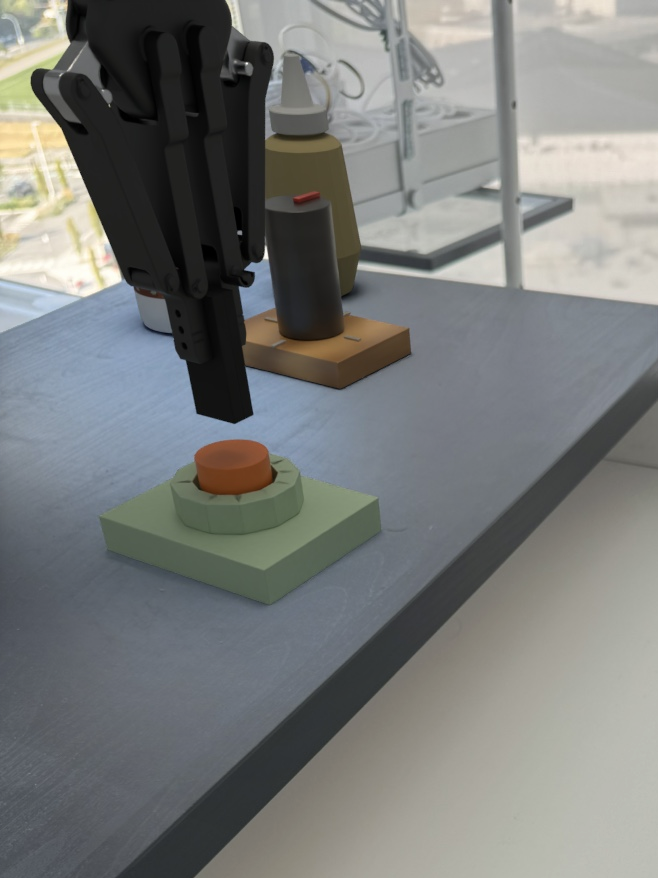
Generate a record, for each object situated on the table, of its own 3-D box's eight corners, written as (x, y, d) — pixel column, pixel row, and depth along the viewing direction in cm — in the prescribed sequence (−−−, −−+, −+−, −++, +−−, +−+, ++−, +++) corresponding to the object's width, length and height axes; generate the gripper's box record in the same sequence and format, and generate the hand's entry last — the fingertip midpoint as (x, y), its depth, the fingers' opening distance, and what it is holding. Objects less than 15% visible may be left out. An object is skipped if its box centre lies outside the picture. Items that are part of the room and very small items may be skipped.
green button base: (107, 550, 67) (89, 485, 64) (227, 485, 74) (216, 424, 71) (270, 606, 62) (258, 538, 60) (382, 531, 69) (375, 467, 67)
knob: (316, 344, 88) (299, 210, 82) (265, 332, 89) (244, 200, 83) (357, 326, 91) (344, 196, 85) (307, 314, 93) (290, 186, 87)
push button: (184, 488, 65) (178, 458, 64) (233, 462, 68) (228, 433, 67) (239, 505, 64) (234, 475, 62) (287, 478, 66) (283, 448, 65)
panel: (216, 359, 90) (211, 330, 89) (293, 325, 97) (289, 298, 95) (339, 390, 86) (336, 360, 85) (412, 353, 92) (410, 325, 91)
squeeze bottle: (256, 299, 102) (219, 59, 90) (300, 273, 108) (271, 45, 96) (340, 310, 100) (313, 66, 89) (380, 283, 106) (360, 51, 95)
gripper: (62, -138, 42) (191, 473, 57) (296, -141, 51) (355, 389, 66) (-76, -144, 45) (81, 441, 60) (169, -146, 54) (253, 365, 69)
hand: (225, 414), depth 63 cm, fingers closed
